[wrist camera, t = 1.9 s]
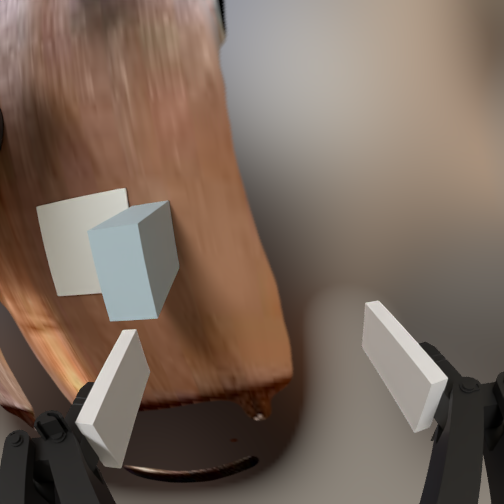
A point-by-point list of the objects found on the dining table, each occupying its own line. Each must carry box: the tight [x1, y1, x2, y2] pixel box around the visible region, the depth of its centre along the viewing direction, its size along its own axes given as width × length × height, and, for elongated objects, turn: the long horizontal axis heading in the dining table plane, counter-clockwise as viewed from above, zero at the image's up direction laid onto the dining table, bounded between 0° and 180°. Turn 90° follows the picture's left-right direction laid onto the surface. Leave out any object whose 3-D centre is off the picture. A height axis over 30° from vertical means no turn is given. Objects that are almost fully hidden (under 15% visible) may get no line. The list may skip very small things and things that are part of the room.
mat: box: [36, 188, 129, 296], centre depth 39 cm, size 15×14×1 cm
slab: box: [87, 201, 180, 321], centre depth 33 cm, size 5×9×14 cm, turn 5°
